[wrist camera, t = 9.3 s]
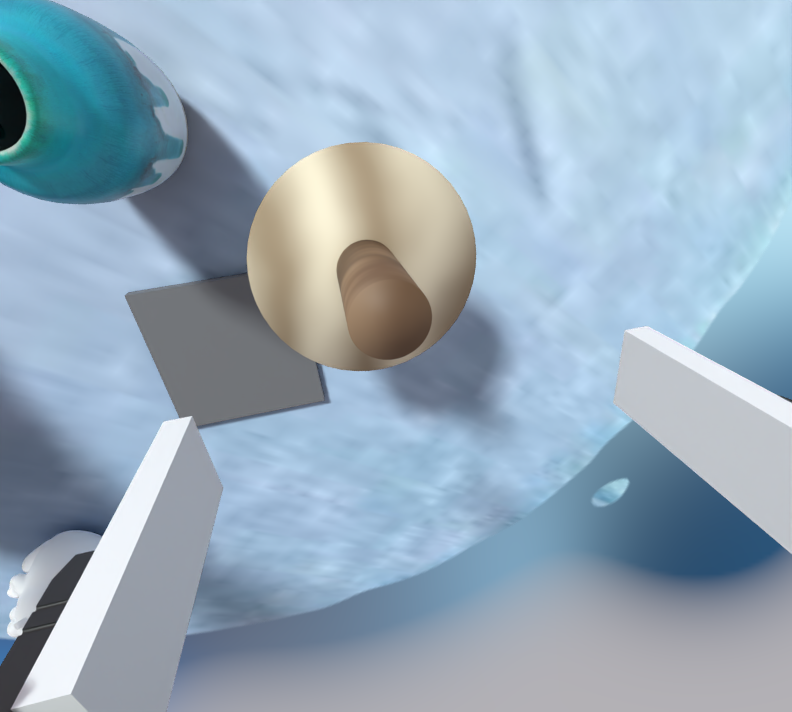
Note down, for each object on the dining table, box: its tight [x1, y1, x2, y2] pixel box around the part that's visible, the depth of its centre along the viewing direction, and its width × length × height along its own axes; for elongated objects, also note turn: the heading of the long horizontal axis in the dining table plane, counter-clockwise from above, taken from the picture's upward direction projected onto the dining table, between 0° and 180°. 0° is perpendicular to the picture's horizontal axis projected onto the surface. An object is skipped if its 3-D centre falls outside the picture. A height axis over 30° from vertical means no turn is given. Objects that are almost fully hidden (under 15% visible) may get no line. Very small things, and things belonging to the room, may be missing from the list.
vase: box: [0, 0, 188, 204], centre depth 26 cm, size 11×11×19 cm
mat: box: [125, 273, 325, 426], centre depth 44 cm, size 16×16×1 cm
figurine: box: [7, 530, 102, 637], centre depth 48 cm, size 10×10×12 cm
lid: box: [247, 142, 476, 371], centre depth 24 cm, size 15×15×10 cm
